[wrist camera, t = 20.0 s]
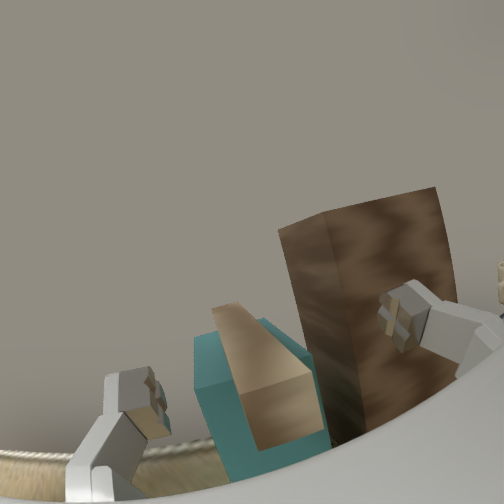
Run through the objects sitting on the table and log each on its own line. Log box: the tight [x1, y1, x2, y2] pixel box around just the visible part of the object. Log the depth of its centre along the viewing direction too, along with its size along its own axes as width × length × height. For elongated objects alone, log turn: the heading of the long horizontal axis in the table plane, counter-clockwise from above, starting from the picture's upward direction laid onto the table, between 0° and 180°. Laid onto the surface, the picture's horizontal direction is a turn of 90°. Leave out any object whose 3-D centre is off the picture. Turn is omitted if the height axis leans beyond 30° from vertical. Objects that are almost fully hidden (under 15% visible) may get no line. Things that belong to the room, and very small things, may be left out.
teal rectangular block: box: [194, 318, 332, 483], centre depth 27 cm, size 8×15×17 cm, turn 10°
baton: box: [212, 302, 324, 452], centre depth 22 cm, size 3×22×3 cm, turn 10°
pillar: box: [278, 187, 459, 445], centre depth 30 cm, size 12×13×26 cm
